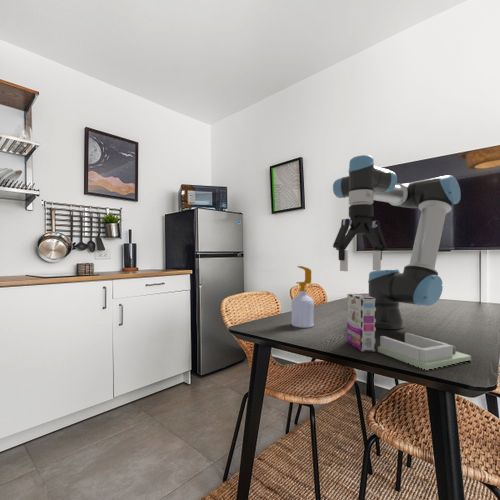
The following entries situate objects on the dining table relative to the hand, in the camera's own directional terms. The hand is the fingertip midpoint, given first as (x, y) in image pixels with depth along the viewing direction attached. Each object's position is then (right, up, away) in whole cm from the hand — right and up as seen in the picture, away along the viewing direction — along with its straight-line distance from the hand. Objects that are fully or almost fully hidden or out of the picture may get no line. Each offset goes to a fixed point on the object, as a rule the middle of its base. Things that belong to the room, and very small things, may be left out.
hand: (360, 270), depth 97 cm
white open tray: (+15, -24, -9) cm, 30 cm away
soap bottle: (-14, -25, +28) cm, 40 cm away
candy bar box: (0, -25, 0) cm, 25 cm away
